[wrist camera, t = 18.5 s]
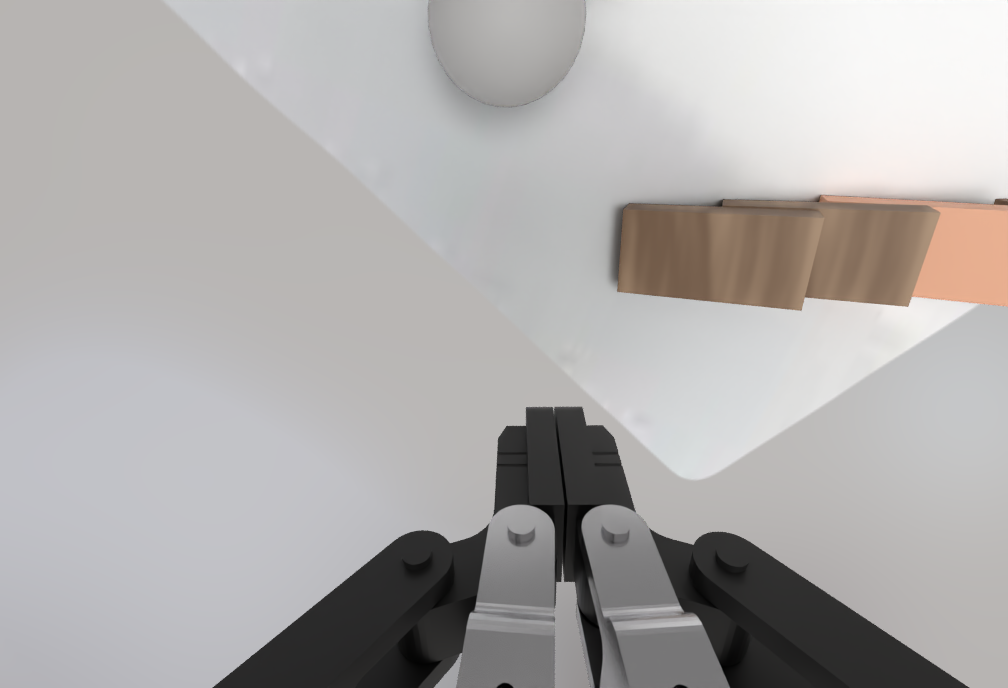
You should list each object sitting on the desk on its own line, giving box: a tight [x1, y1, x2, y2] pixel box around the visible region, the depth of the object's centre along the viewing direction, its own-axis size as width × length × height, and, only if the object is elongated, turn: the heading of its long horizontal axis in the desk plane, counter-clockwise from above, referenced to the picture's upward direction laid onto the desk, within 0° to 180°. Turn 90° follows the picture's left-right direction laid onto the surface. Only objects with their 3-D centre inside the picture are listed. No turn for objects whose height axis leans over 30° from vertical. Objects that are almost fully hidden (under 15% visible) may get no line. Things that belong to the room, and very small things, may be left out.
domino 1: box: [617, 203, 824, 310], centre depth 28 cm, size 2×5×10 cm
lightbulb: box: [428, 0, 586, 107], centre depth 21 cm, size 6×6×11 cm
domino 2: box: [722, 199, 941, 307], centre depth 28 cm, size 2×5×10 cm
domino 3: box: [819, 195, 1008, 306], centre depth 28 cm, size 2×5×10 cm
